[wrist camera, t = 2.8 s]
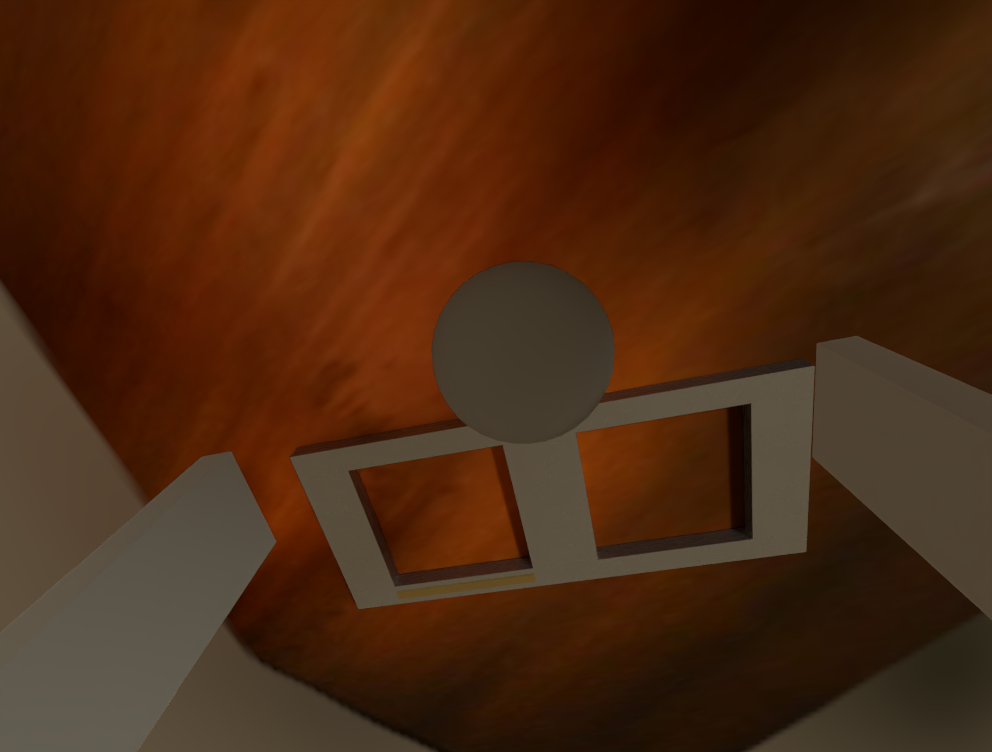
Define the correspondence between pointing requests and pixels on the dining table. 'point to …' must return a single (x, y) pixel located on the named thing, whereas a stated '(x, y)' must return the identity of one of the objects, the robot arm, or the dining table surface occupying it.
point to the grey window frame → (577, 491)
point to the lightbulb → (523, 352)
